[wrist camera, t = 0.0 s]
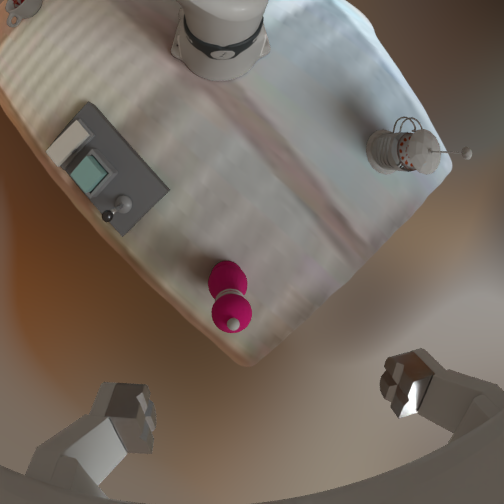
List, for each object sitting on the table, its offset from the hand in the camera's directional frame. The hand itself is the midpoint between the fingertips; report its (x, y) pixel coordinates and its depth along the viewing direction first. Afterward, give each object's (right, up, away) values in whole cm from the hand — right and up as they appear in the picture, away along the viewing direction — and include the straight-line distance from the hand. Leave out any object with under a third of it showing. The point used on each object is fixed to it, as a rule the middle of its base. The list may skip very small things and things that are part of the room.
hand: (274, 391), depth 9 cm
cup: (-54, +61, +25) cm, 85 cm away
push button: (-29, +18, +36) cm, 49 cm away
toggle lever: (-23, +13, +39) cm, 48 cm away
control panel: (-28, +21, +41) cm, 54 cm away
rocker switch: (-34, +24, +34) cm, 53 cm away
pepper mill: (-6, 0, +50) cm, 50 cm away
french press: (+27, +27, +46) cm, 60 cm away
